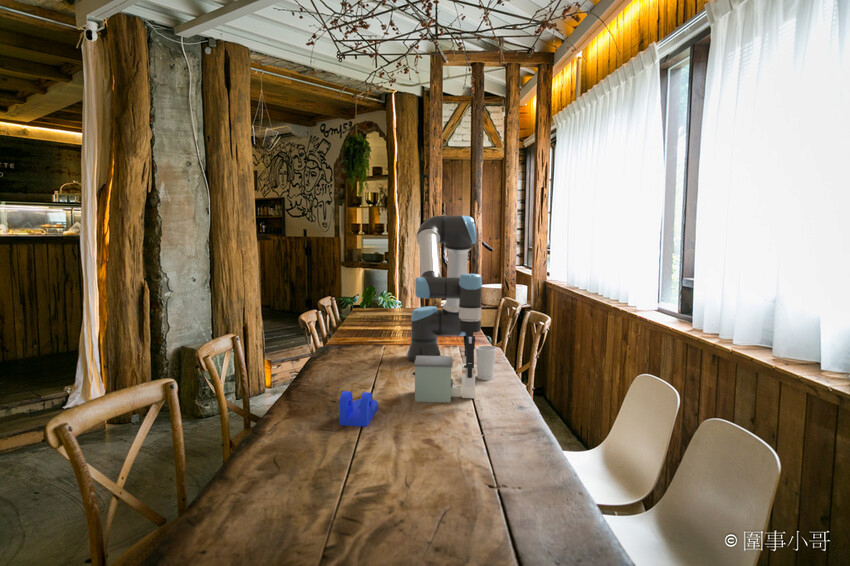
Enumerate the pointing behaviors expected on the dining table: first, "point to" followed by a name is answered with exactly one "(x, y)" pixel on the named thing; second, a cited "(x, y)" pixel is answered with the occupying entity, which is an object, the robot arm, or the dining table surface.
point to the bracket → (356, 409)
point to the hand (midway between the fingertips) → (468, 381)
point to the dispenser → (433, 378)
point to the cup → (485, 362)
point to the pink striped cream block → (466, 391)
